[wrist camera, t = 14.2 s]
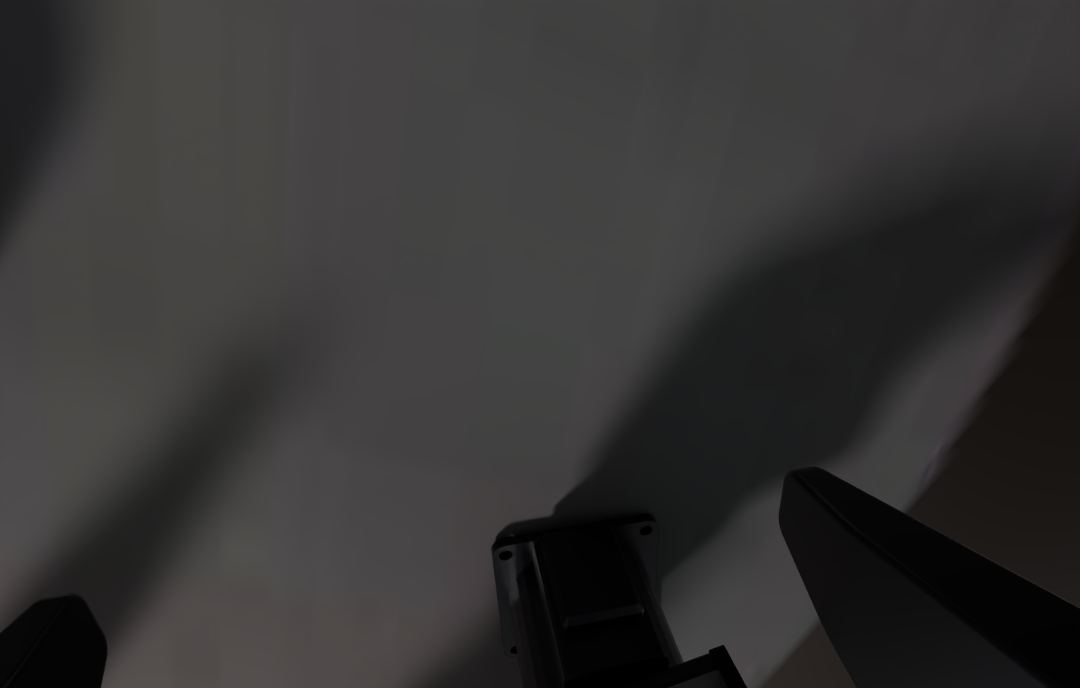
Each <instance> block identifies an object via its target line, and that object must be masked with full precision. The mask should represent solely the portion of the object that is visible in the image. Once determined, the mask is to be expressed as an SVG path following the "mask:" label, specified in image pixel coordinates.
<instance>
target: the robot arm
mask: <svg viewBox="0 0 1080 688" xmlns="http://www.w3.org/2000/svg"><path fill="white" fill-rule="evenodd" d="M779 525H780V529H781V532H782V535H783V537H784V539H785V541H786V544H787V546H788V548H789V550H790V553H791V555H792V557H793V560H794V562H795V564H796V566H797V569H798V571H799V573H800V575H801V578H802V580H803V582H804V585H805V587H806V589H807V591H808V594H809V596H810V598H811V600H812V603H813V605H814V607H815V610H816V612H817V614H818V616H819V619H820V621H821V623H822V625H823V627H824V629H825V631H826V633H827V635H828V637H829V639H830V641H831V643H832V644H833V646H834V648H835V650H836V652H837V654H838V655H839V657H840V659H841V661H842V662H843V664H844V666H845V668H846V669H847V671H848V673H849V674H850V676H851V678H852V680H853V681H854V683H855V685H856V687H857V688H1080V608H1079V607H1077V606H1075V605H1073V604H1071V603H1069V602H1067V601H1066V600H1064V599H1062V598H1060V597H1058V596H1056V595H1055V594H1052V593H1051V592H1049V591H1047V590H1045V589H1043V588H1041V587H1040V586H1038V585H1036V584H1034V583H1032V582H1031V581H1029V580H1027V579H1025V578H1023V577H1021V576H1019V575H1017V574H1016V573H1013V572H1012V571H1010V570H1008V569H1006V568H1005V567H1003V566H1001V565H999V564H997V563H995V562H993V561H992V560H990V559H988V558H986V557H984V556H982V555H981V554H979V553H977V552H975V551H973V550H971V549H969V548H968V547H966V546H964V545H962V544H960V543H958V542H956V541H954V540H953V539H951V538H949V537H947V536H945V535H943V534H942V533H940V532H938V531H936V530H934V529H932V528H931V527H928V526H927V525H925V524H923V523H921V522H919V521H918V520H916V519H914V518H912V517H910V516H908V515H907V514H905V513H903V512H901V511H899V510H897V509H895V508H894V507H892V506H890V505H888V504H886V503H884V502H882V501H881V500H879V499H877V498H875V497H873V496H871V495H869V494H868V493H866V492H864V491H862V490H860V489H858V488H857V487H855V486H853V485H851V484H849V483H847V482H845V481H844V480H842V479H840V478H838V477H836V476H834V475H832V474H831V473H829V472H827V471H825V470H823V469H821V468H818V467H808V468H802V469H796V470H791V471H789V472H788V473H787V474H786V476H785V478H784V483H783V490H782V496H781V503H780V509H779ZM644 526H647V527H645V528H642V527H644ZM491 551H492V559H493V567H494V575H495V583H496V591H497V598H498V606H499V614H500V622H501V630H502V638H503V646H504V652H505V654H506V655H507V656H508V657H512V658H516V657H518V661H519V666H520V672H521V678H522V683H523V688H747V687H746V685H745V683H744V681H743V679H742V677H741V676H740V674H739V672H738V670H737V668H736V666H735V665H734V663H733V661H732V659H731V657H730V655H729V654H728V652H727V650H726V648H725V646H724V645H721V646H719V647H716V648H713V649H711V650H709V653H708V654H705V655H703V656H700V657H697V658H695V659H692V660H689V661H686V662H683V660H682V657H681V655H680V652H679V650H678V647H677V645H676V642H675V640H674V638H673V635H672V633H671V630H670V628H669V625H668V623H667V620H666V618H665V615H664V613H663V610H662V608H661V605H660V603H659V601H658V598H657V596H656V579H657V553H658V525H657V522H656V520H655V518H654V517H653V516H652V515H650V514H640V515H634V516H628V517H622V518H617V519H611V520H605V521H600V522H594V523H588V524H582V525H577V526H571V527H565V528H559V529H554V530H548V531H542V532H537V533H531V534H525V535H519V536H514V537H508V538H503V539H500V540H498V541H496V542H495V543H494V544H493V545H492V549H491ZM503 551H508V552H505V553H501V552H503ZM107 649H108V648H107V641H106V637H105V635H104V633H103V631H102V629H101V627H100V626H99V624H98V622H97V620H96V618H95V617H94V615H93V613H92V611H91V610H90V608H89V606H88V604H87V602H86V601H85V599H84V598H83V597H82V596H80V595H79V594H73V593H72V594H65V595H60V596H54V597H48V598H44V599H41V600H39V601H37V602H36V603H34V604H33V605H32V606H31V607H29V608H28V609H27V610H26V611H25V612H24V613H22V614H21V615H20V616H19V617H18V618H17V619H16V620H14V621H13V622H12V623H11V624H10V625H9V626H8V627H6V628H5V629H4V630H3V631H2V632H1V633H0V688H101V685H102V680H103V675H104V670H105V665H106V660H107Z"/></svg>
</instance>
